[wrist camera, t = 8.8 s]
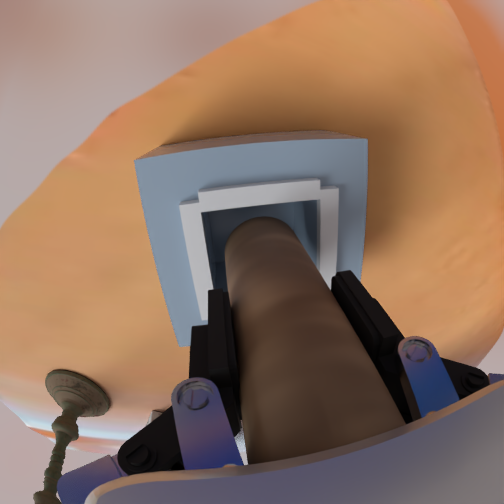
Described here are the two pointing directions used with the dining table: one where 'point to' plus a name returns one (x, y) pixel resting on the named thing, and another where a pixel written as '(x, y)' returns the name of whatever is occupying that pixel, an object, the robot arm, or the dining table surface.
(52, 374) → the candlestick holder
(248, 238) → the walnut dowel
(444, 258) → the dining table surface
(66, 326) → the dining table surface
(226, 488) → the robot arm
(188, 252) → the square peg hole block
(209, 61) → the dining table surface
